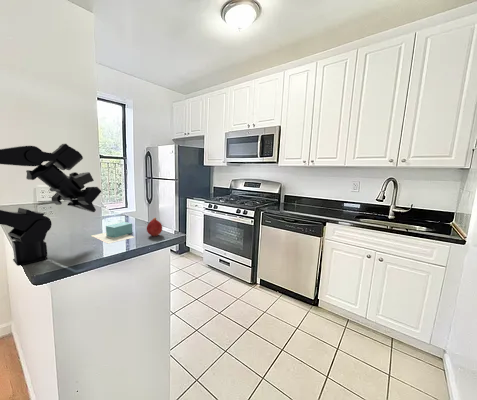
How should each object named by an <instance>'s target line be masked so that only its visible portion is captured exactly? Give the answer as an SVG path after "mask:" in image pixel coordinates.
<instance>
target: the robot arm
mask: <svg viewBox="0 0 477 400" xmlns="http://www.w3.org/2000/svg"><path fill="white" fill-rule="evenodd" d="M83 159H84V157H83V155H82V154H81V152H79V151H78V150H76V149H75V148H73V147H71V146H69V145H68V144H67V143H61V144H60V145H59V146H58V148H56V149H54V150H53V152H47V151H43V150H42V149H40V148H39V147H38V146H35V145H23V146H22V145H20V146H19V145H18V146H14V147H13V146H12V147H5V148H0V165H7V166H16V167H18V166H19V167H35V168H34V169H31V170H29V169H28V170H27V169H26V180H29V181H34V180H36V179H37V178H38V179H39V180H40V181H41V182H43V183H44V184H45V185H47V187H48V188H49V189H48V190H49V191H50V192H55V193H54V194H53V195H52V196H51V202H52V203H54V204H55V205H58V206H59V205H62V204H63V202H62V201H64V202H67V204H66V205H67V206H68V207H72V208H76V209H81V210H84V211H88V212H91V213H95V212H96V208H95V205H94V204H93V202H94V201H95V200H96V199H97V197H98V196H100V194H101V193H102V190H101V189H100V188H99V187H98V186H87V187H86V185H87V184H88V183H92V182H94V178H93V175H91V172H88V171H87V172H86V171H85V172H81V173H79V172H71V173H69V176H68V175H67V174H65V172H63V171H65V170H66V171H71V170H72V169H73V168H74V167H75V166H77V164H79V163H80V162H81V161H82V160H83ZM44 162H46V163H45V164H43V163H44ZM84 188H85V189H84ZM0 225H2V226H7V227H9V228H12V229H11V230H10V231H9V232H8V234H7V235H8V237H9V238H10V239H11V240H12V242H11V245H12V251H13V256H14V257H13V259H12V261H13V262H14V264H15V265H16V266H17V267H19V266H20V267H21V266H23V265H24V266H25V265H28V264H32V263H36V262H40V261H44V260H48V248H47V247H48V246H47V242H46V241H45V240H46V238H47V237H46V236H47V234H48V232H49V231H50V230H51V228H52V220H51V219H50V218H49V217H48V216H45V212H44V213H43V212H39V211H36V210H29V209H27V208H22V207H17V211H7V210H3V209H0Z"/></svg>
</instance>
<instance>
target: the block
mask: <svg viewBox="0 0 477 400" xmlns="http://www.w3.org/2000/svg"><path fill="white" fill-rule="evenodd" d="M133 230H134V229H133V223H131V222H127V221H126V222H125V221H122V222H117V223H114V224H113V223H112V224H108V225H105V233H106V236H109V237H113V238H115V237H119V236H123V235H126V234H128V235H130V234H133V233H134V232H133Z"/></svg>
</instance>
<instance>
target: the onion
mask: <svg viewBox="0 0 477 400" xmlns="http://www.w3.org/2000/svg"><path fill="white" fill-rule="evenodd" d="M162 231H163V224H162V223H161V222H160V221H159V220H158V219H157V218H156V217H153V218H152V220H150V221H148V224H147V226H146V232H147V234H149V235H150V236H152V237H157V236H159V235H160V234H161V233H162Z"/></svg>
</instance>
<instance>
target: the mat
mask: <svg viewBox="0 0 477 400" xmlns="http://www.w3.org/2000/svg"><path fill="white" fill-rule="evenodd" d="M91 237H92V238H95V239H97V240H99V241H102V242H104V243H106V244H109V245H110V244H114V243H117V242H122V241H126V240H130V239H134V238H135V236H133V235H130V234H126V235H123V236H119V237H115V238H113V237H109V236H106V232H103V233H96V234H93V235H91Z"/></svg>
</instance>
